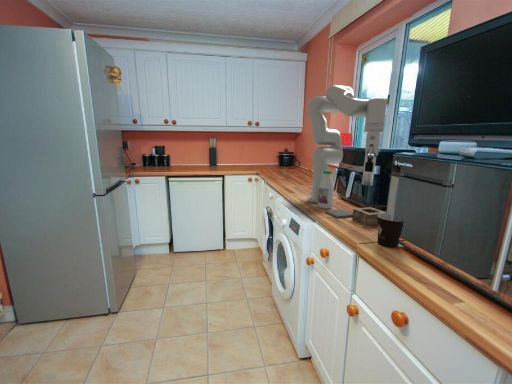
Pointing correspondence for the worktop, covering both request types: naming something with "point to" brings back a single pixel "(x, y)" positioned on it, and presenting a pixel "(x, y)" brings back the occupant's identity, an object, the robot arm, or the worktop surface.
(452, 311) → the worktop surface
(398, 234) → the coffee mug
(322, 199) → the milk bottle
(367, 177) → the steel pin
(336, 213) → the rubber mat
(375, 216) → the open square box
